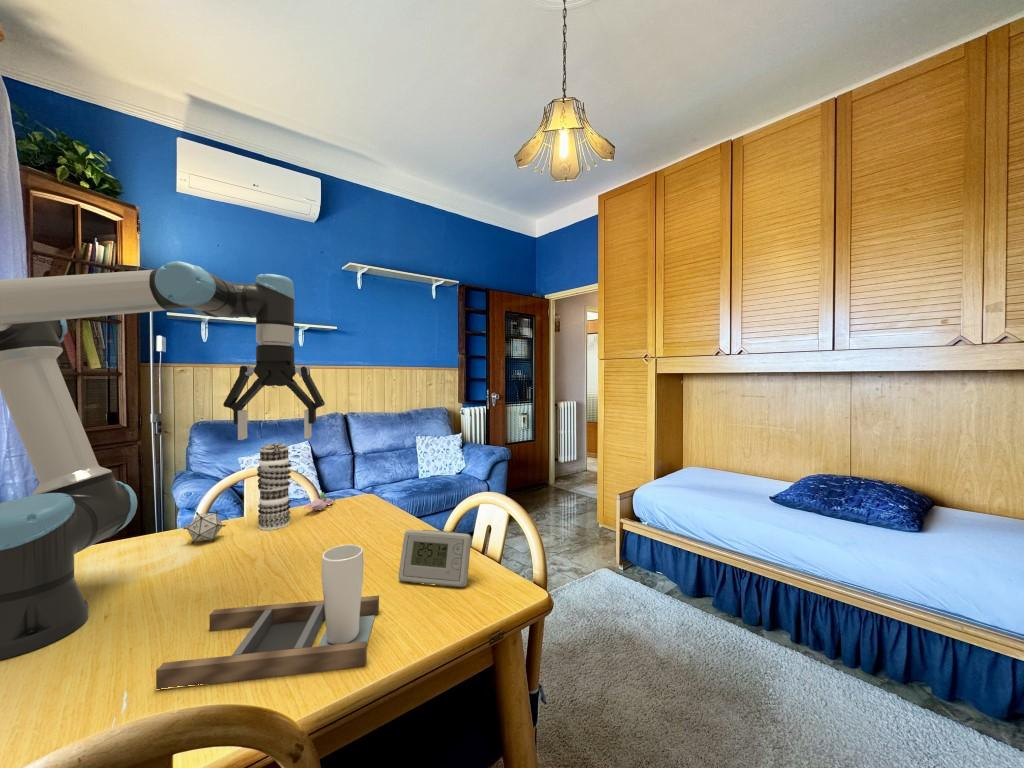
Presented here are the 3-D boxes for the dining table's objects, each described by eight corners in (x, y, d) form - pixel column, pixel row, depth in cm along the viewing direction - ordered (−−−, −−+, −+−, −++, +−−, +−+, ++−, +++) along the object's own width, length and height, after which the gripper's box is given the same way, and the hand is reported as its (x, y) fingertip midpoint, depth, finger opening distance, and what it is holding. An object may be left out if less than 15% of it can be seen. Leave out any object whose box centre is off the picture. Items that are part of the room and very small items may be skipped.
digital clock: (393, 582, 91) (394, 535, 90) (417, 565, 99) (417, 522, 99) (458, 597, 85) (458, 546, 85) (476, 577, 93) (477, 531, 93)
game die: (206, 556, 111) (196, 536, 105) (182, 543, 112) (171, 522, 106) (235, 531, 118) (228, 510, 112) (212, 518, 119) (204, 497, 113)
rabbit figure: (322, 507, 146) (297, 513, 132) (324, 490, 147) (299, 495, 133) (339, 507, 146) (315, 514, 131) (340, 490, 147) (317, 495, 132)
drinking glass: (354, 650, 67) (354, 561, 67) (314, 649, 68) (313, 560, 67) (369, 625, 74) (369, 544, 74) (332, 624, 74) (332, 543, 74)
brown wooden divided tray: (156, 690, 59) (156, 670, 59) (214, 625, 74) (214, 609, 74) (364, 666, 64) (364, 647, 64) (378, 610, 79) (378, 595, 79)
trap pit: (232, 674, 62) (231, 655, 62) (265, 626, 74) (265, 610, 74) (302, 666, 64) (301, 647, 64) (323, 620, 76) (323, 604, 76)
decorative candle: (297, 519, 129) (297, 441, 129) (281, 530, 120) (281, 446, 120) (268, 519, 129) (268, 441, 128) (250, 530, 120) (250, 446, 119)
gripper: (338, 347, 97) (338, 435, 98) (223, 345, 93) (223, 437, 93) (329, 344, 90) (329, 439, 90) (204, 342, 86) (204, 442, 86)
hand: (275, 438), depth 92 cm, fingers open, 13 cm apart
